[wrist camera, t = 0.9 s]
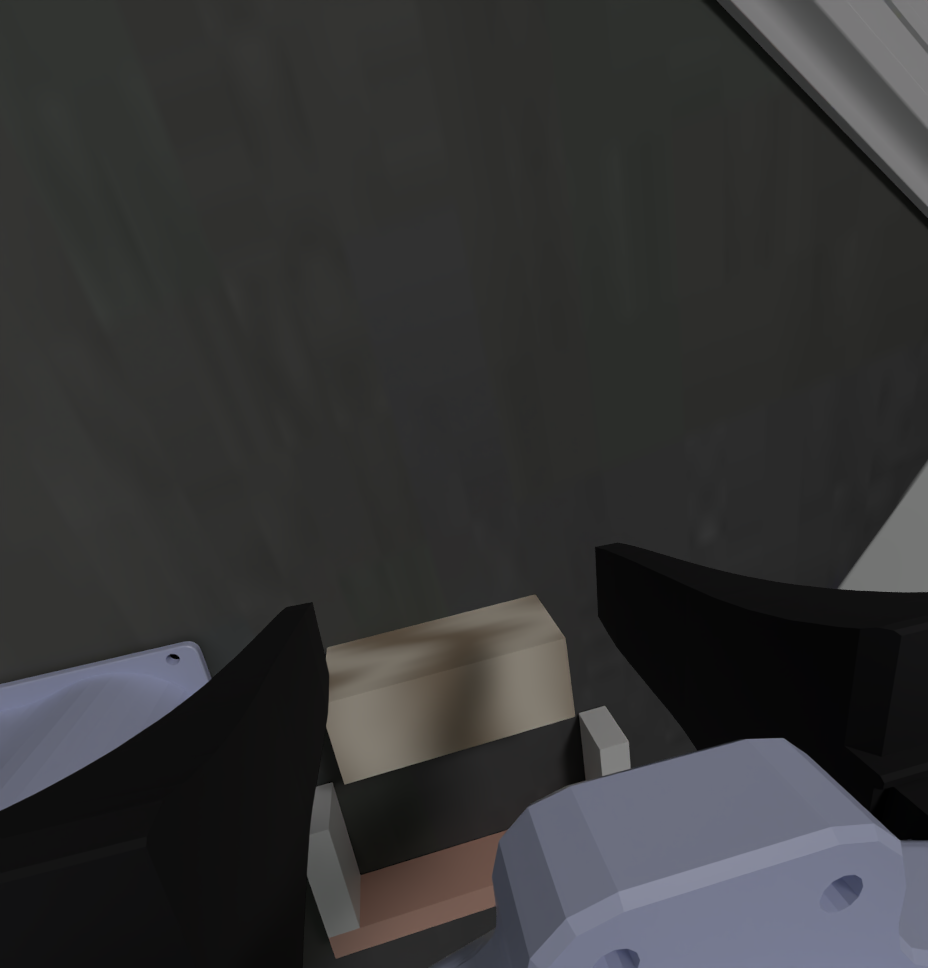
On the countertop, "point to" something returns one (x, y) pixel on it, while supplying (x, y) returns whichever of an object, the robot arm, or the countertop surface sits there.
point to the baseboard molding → (857, 72)
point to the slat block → (445, 686)
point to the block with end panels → (421, 864)
